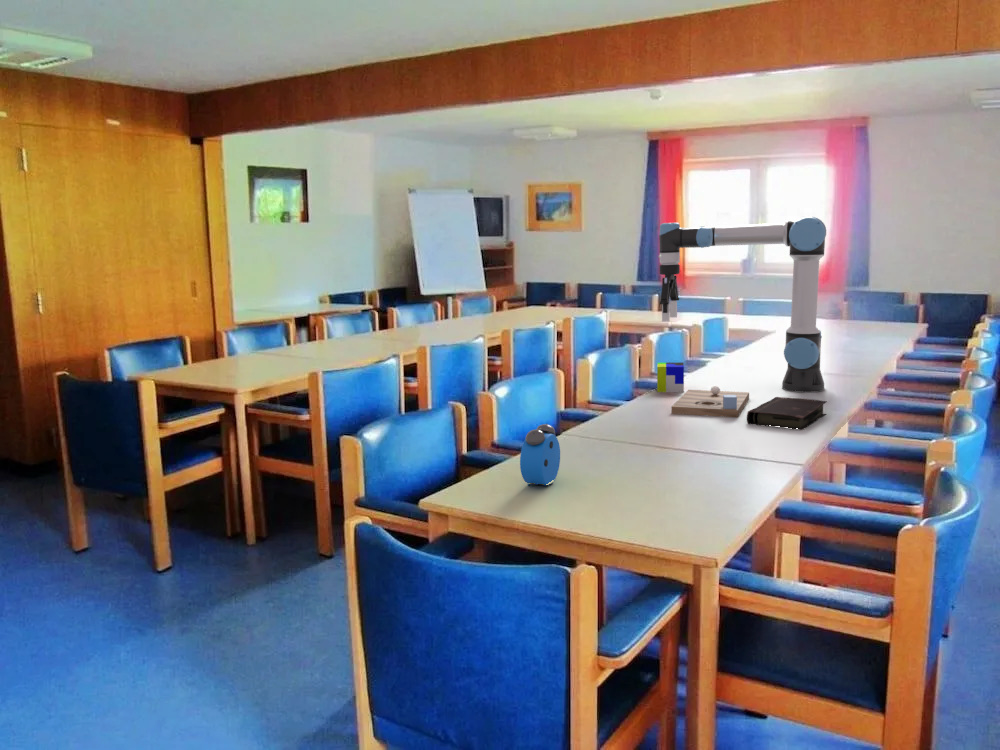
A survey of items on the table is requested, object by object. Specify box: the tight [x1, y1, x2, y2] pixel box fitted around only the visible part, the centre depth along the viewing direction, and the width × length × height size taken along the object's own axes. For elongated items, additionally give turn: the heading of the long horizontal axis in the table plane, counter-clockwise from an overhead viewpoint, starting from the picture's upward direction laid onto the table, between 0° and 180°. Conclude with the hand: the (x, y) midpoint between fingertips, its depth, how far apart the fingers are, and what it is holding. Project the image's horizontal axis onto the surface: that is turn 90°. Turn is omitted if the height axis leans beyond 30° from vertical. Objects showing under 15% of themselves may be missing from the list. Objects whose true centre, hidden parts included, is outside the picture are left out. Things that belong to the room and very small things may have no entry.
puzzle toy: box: [656, 362, 685, 393], centre depth 320 cm, size 10×10×10 cm
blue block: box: [723, 395, 737, 409], centre depth 275 cm, size 4×4×4 cm
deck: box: [671, 389, 750, 418], centre depth 290 cm, size 30×22×2 cm
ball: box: [710, 385, 721, 395], centre depth 296 cm, size 3×3×3 cm
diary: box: [746, 396, 828, 430], centre depth 267 cm, size 19×25×5 cm
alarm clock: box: [519, 423, 561, 486], centre depth 208 cm, size 13×6×15 cm, turn 154°
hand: (669, 319), depth 316 cm, fingers open, 13 cm apart
